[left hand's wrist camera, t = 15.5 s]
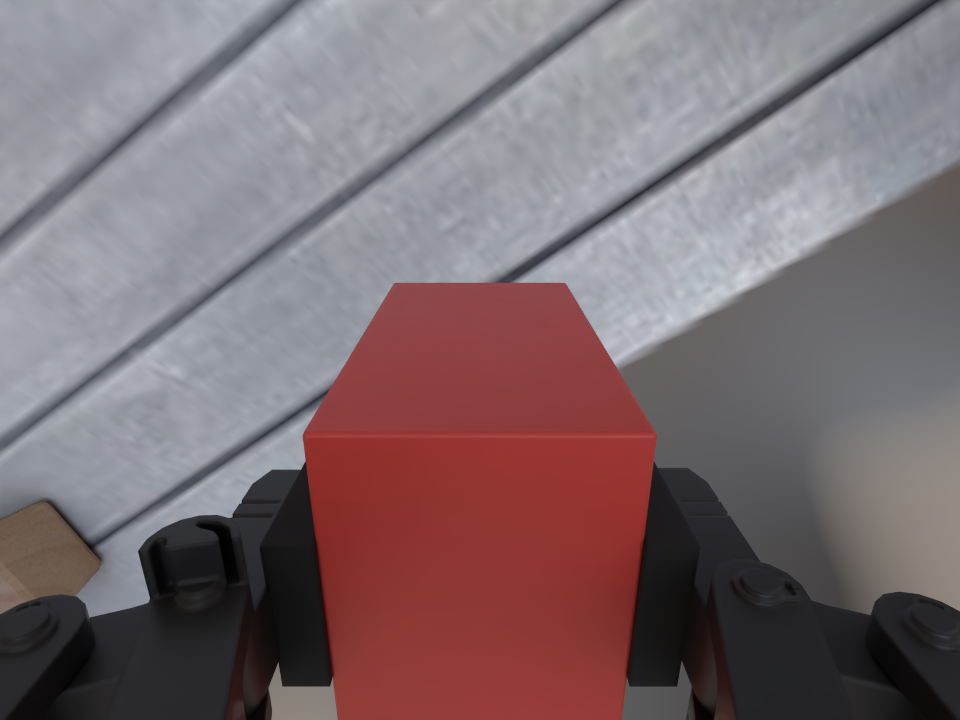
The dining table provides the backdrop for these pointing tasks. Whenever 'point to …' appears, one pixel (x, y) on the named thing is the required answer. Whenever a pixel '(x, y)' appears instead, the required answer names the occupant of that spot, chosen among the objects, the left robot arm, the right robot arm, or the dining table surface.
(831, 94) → the dining table surface
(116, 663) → the left robot arm
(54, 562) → the brown l-shaped piece
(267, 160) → the dining table surface
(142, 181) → the dining table surface
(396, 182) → the dining table surface
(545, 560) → the block
